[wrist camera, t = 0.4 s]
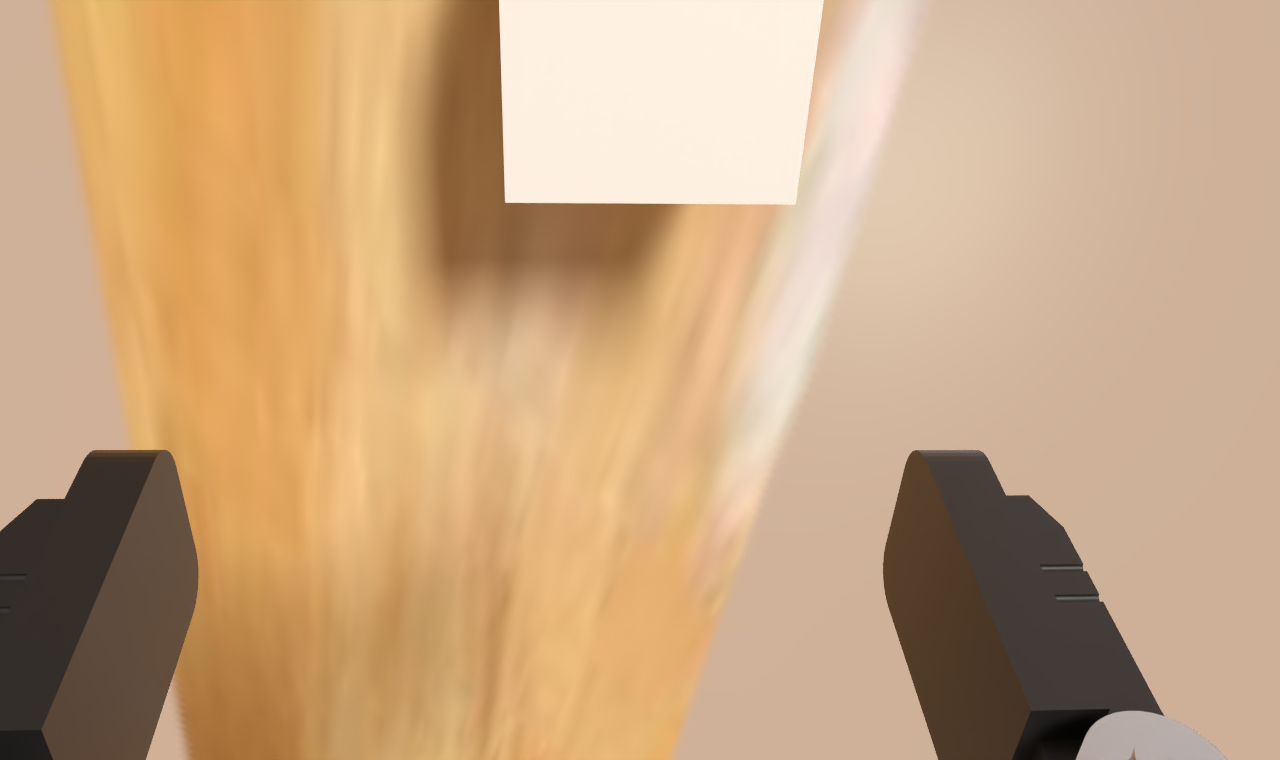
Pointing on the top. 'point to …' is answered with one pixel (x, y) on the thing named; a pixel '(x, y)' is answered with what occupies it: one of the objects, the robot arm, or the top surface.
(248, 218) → the top surface
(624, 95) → the white block
